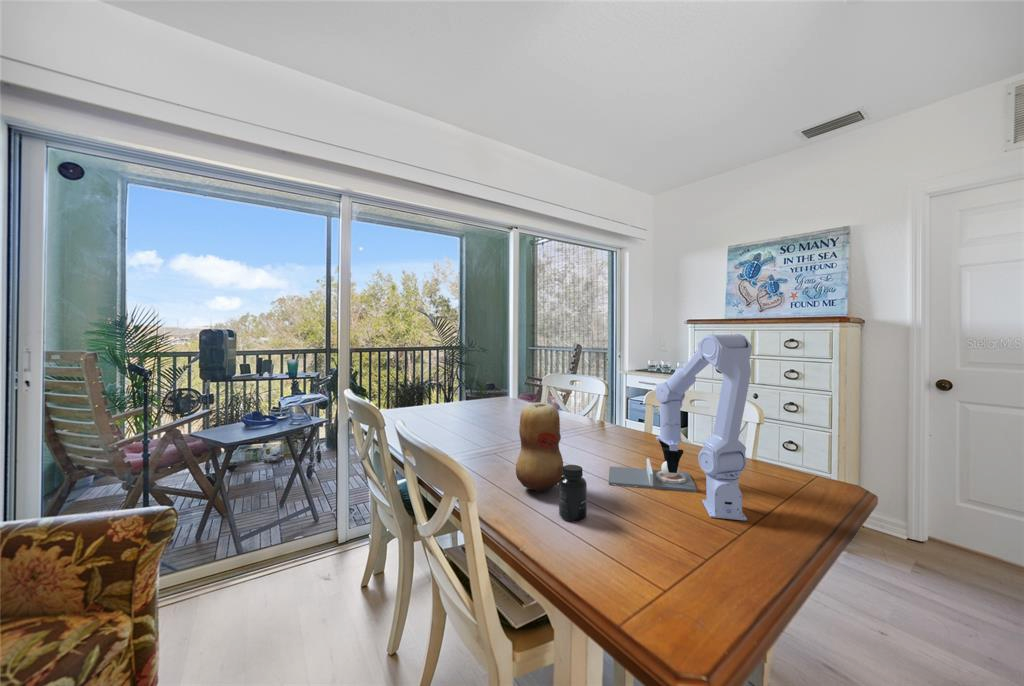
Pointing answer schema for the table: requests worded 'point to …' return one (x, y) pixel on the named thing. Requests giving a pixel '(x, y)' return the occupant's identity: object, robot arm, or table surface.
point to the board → (651, 479)
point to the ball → (666, 472)
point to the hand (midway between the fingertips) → (670, 468)
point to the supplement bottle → (572, 494)
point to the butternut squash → (539, 447)
